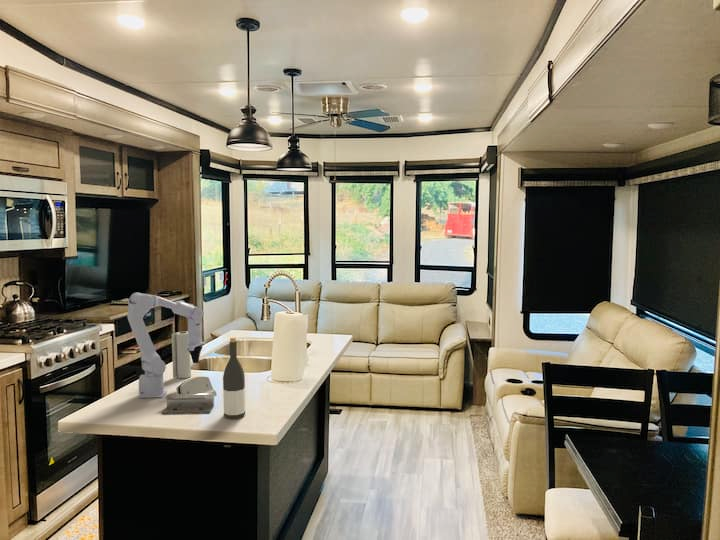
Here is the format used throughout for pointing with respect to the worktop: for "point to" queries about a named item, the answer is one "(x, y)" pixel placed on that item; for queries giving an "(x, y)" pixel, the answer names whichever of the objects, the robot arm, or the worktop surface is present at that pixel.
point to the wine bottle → (234, 385)
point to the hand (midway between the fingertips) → (195, 362)
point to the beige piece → (196, 386)
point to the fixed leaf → (189, 403)
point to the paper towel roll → (181, 355)
